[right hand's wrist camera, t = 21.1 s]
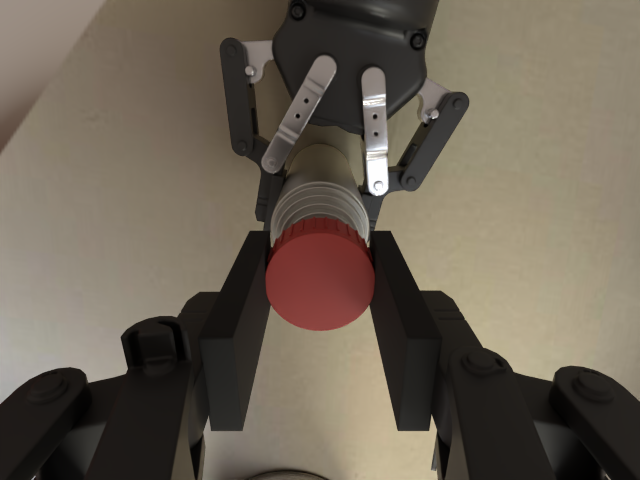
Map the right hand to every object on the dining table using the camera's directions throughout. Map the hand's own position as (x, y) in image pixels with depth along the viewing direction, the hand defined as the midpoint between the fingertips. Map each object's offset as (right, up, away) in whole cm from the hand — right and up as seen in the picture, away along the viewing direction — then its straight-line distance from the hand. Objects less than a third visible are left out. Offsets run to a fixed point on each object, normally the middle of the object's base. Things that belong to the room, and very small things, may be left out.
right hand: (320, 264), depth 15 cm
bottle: (0, +6, +15) cm, 16 cm away
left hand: (-1, +1, +10) cm, 10 cm away
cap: (0, -1, -1) cm, 1 cm away
